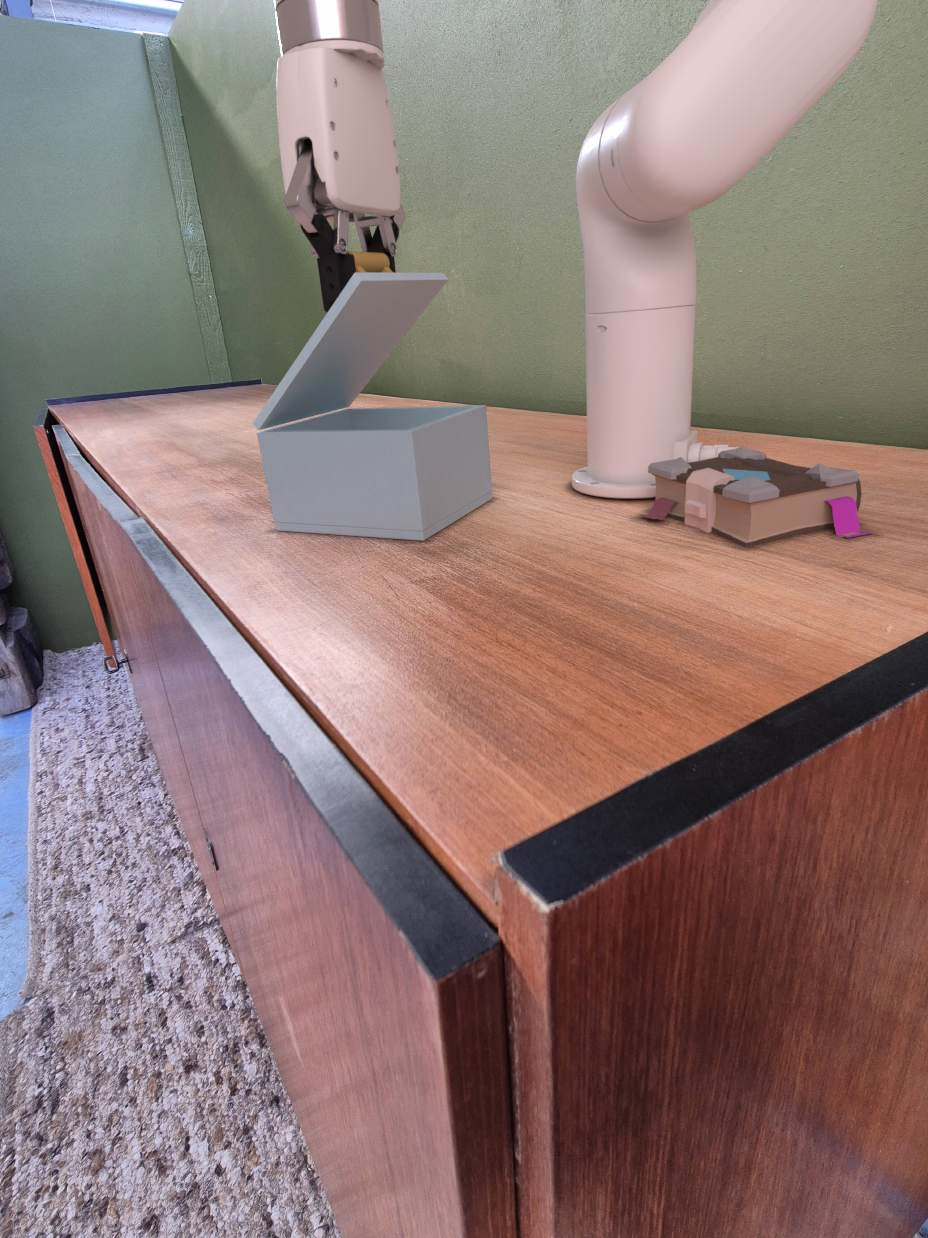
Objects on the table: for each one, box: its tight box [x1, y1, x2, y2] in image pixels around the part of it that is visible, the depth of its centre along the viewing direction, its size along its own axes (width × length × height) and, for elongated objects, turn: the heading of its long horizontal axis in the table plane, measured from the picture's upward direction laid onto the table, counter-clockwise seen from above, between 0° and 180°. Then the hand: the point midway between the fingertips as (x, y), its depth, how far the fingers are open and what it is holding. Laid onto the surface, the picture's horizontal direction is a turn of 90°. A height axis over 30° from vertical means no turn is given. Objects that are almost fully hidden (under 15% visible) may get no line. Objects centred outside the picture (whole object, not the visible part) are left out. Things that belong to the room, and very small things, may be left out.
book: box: [639, 445, 872, 548], centre depth 57 cm, size 20×12×5 cm, turn 21°
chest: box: [256, 404, 493, 542], centre depth 65 cm, size 16×14×9 cm
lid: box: [252, 250, 449, 431], centre depth 62 cm, size 16×14×5 cm
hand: (362, 307), depth 60 cm, fingers closed on lid, 5 cm apart
